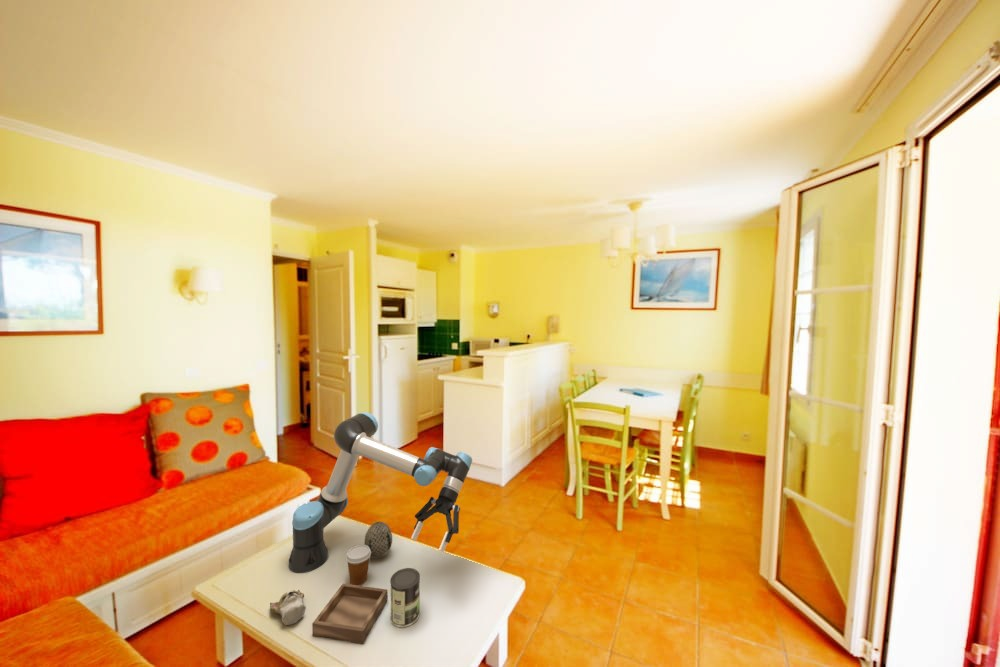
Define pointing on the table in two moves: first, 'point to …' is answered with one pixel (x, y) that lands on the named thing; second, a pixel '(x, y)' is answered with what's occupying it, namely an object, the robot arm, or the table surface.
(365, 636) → the box
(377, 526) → the decorative egg
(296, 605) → the ceramic sculpture
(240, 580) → the table surface
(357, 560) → the disposable coffee cup
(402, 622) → the coffee can
